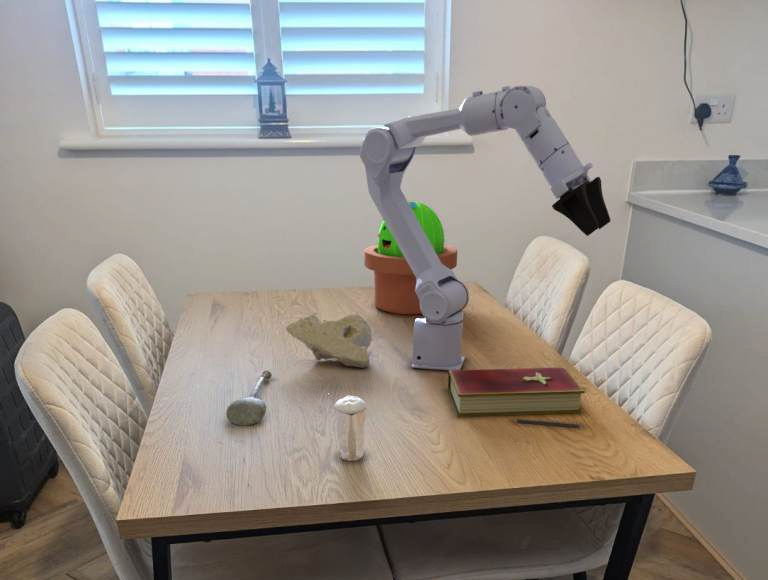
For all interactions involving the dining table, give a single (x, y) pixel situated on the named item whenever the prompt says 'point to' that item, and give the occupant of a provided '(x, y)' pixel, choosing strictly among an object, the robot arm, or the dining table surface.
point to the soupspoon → (248, 407)
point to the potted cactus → (404, 263)
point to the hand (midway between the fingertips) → (599, 228)
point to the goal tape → (549, 423)
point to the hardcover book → (514, 391)
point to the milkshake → (350, 426)
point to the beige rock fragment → (335, 338)
